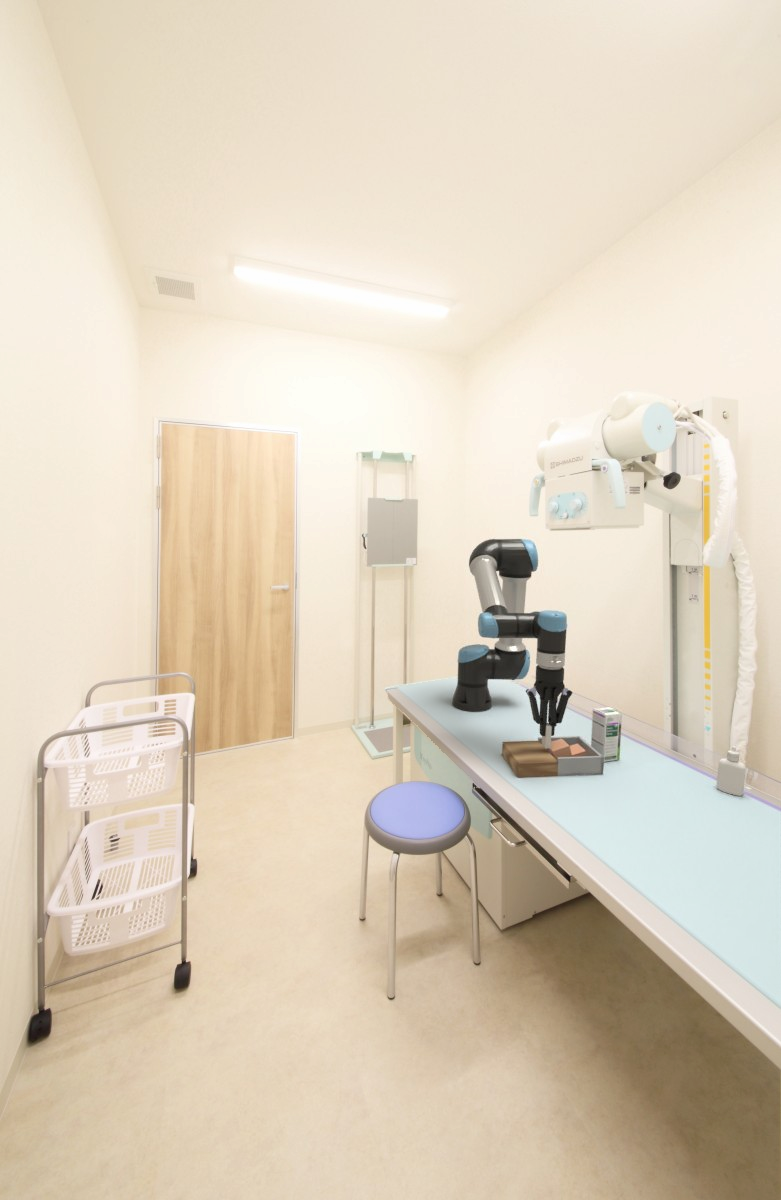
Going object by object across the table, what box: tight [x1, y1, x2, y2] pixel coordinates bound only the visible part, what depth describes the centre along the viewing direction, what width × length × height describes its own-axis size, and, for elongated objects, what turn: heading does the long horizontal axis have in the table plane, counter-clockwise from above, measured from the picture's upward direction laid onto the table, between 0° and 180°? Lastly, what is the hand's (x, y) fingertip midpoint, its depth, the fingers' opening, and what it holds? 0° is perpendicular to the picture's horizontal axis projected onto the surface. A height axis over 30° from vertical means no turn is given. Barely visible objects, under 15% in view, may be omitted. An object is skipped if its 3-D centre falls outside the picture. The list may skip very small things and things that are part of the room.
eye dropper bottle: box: [715, 745, 747, 797], centre depth 121 cm, size 4×6×12 cm
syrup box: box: [590, 706, 623, 763], centre depth 140 cm, size 6×6×14 cm
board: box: [501, 740, 559, 779], centre depth 135 cm, size 14×11×4 cm
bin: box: [537, 735, 605, 777], centre depth 136 cm, size 14×13×5 cm
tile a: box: [547, 738, 572, 760], centre depth 136 cm, size 5×5×3 cm
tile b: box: [568, 743, 587, 757], centre depth 136 cm, size 5×5×3 cm
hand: (546, 746), depth 135 cm, fingers closed
